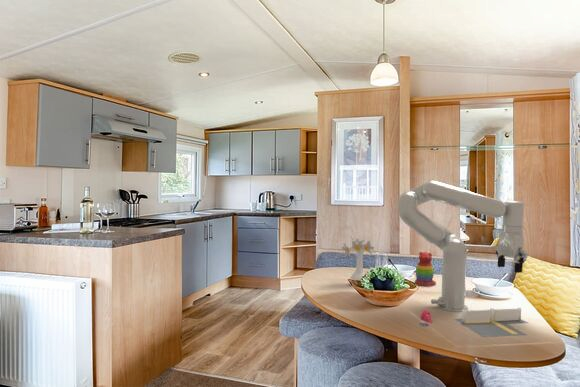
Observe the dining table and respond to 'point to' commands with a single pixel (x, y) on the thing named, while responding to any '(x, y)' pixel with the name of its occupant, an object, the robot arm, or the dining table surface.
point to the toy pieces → (425, 318)
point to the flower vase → (358, 256)
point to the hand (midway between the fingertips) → (509, 269)
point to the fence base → (488, 323)
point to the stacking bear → (425, 270)
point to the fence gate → (507, 314)
